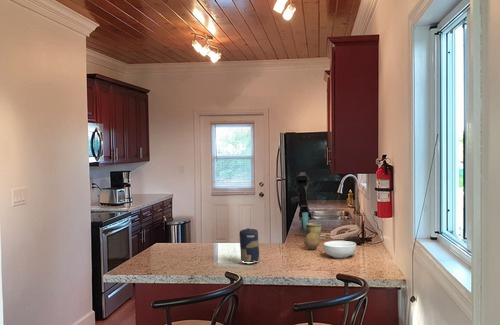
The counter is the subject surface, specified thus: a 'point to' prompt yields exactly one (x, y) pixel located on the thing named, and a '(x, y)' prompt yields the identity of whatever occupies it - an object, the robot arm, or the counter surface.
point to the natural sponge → (312, 241)
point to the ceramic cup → (314, 228)
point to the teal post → (305, 220)
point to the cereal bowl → (340, 248)
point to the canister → (249, 245)
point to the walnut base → (302, 233)
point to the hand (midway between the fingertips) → (303, 214)
